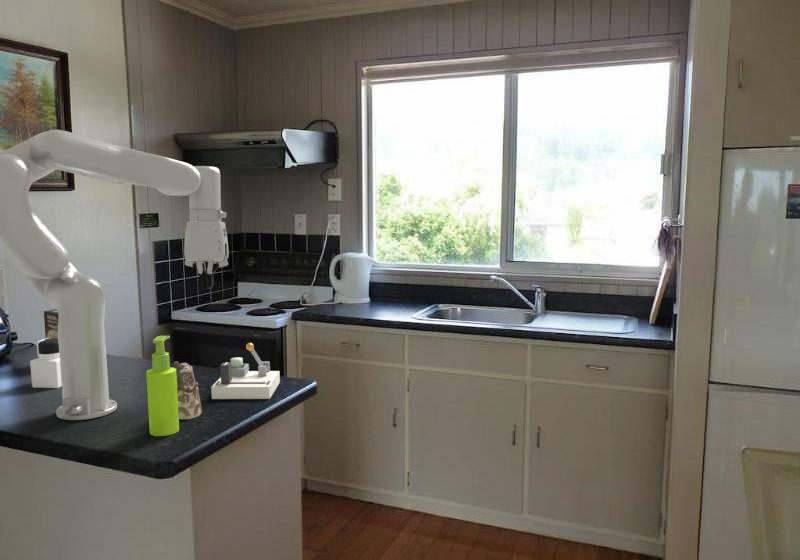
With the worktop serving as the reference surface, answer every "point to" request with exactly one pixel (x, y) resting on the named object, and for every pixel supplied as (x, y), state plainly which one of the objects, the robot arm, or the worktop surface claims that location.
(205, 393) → the worktop surface
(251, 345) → the toggle lever
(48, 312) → the coffee box
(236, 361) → the push button
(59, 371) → the medicine bottle
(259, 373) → the panel
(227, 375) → the slider knob
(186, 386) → the figurine
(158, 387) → the soap dispenser
